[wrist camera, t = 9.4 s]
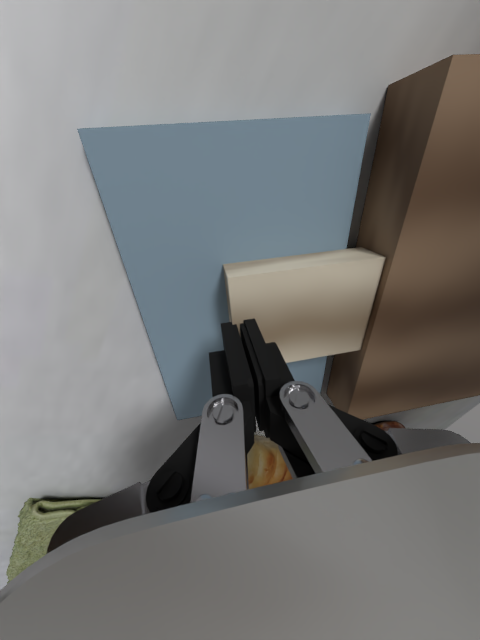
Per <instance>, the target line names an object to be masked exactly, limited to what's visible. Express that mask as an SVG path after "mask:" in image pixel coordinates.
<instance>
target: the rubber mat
mask: <svg viewBox="0 0 480 640" xmlns="http://www.w3.org/2000/svg"><path fill="white" fill-rule="evenodd" d="M370 115H371V113H370V114H351V115H332V116H313V117H294V118H274V119H255V120H236V121H217V122H198V123H178V124H159V125H140V126H121V127H102V128H82V129H77V130H78V133H79V135H80V138H81V141H82V144H83V147H84V150H85V153H86V156H87V159H88V162H89V164H90V167H91V170H92V173H93V176H94V179H95V182H96V185H97V188H98V191H99V194H100V196H101V199H102V202H103V205H104V208H105V211H106V214H107V217H108V220H109V223H110V226H111V228H112V231H113V234H114V237H115V240H116V243H117V246H118V249H119V252H120V255H121V257H122V260H123V263H124V266H125V269H126V272H127V275H128V278H129V281H130V284H131V287H132V289H133V292H134V295H135V298H136V301H137V304H138V307H139V310H140V313H141V316H142V318H143V321H144V324H145V327H146V330H147V333H148V336H149V339H150V342H151V345H152V348H153V350H154V353H155V356H156V359H157V362H158V365H159V368H160V371H161V374H162V377H163V379H164V382H165V385H166V388H167V391H168V394H169V397H170V400H171V403H172V406H173V409H174V411H175V414H176V417H177V420H182V419H187V418H192V417H197V416H202V411H203V408H204V406H205V404H206V403H207V401H209V400H210V399H211V398H212V385H211V374H210V362H209V352H215V351H221V350H224V346H223V339H222V331H221V323H227V322H229V313H228V305H227V296H226V287H225V278H224V269H223V264H229V263H237V262H245V261H253V260H261V259H269V258H277V257H285V256H294V255H302V254H310V253H318V252H326V251H334V250H342V249H346V248H347V243H348V237H349V232H350V226H351V220H352V215H353V209H354V204H355V198H356V193H357V187H358V181H359V176H360V170H361V165H362V159H363V154H364V148H365V143H366V137H367V131H368V126H369V120H370ZM326 359H327V356H323V357H317V358H312V359H306V360H300V361H295V362H289V363H286V364H287V366H288V368H289V370H290V372H291V374H292V376H293V378H294V380H295V381H302V382H305V383H308V384H310V385H311V386H313V387H314V388H315V389H316V390H317V391H318V393H321V387H322V382H323V376H324V371H325V365H326Z"/></svg>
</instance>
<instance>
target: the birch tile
mask: <svg viewBox="0 0 480 640" xmlns="http://www.w3.org/2000/svg"><path fill="white" fill-rule="evenodd" d="M385 258H386V257H384V256H382V255H379V254H377V253H374V252H372V251H370V250H367V249H365V248H362V247H358V248H350V249H342V250H334V251H326V252H318V253H310V254H302V255H294V256H285V257H277V258H269V259H261V260H253V261H245V262H237V263H229V264H223V269H224V278H225V287H226V296H227V305H228V313H229V322H232V325H234V324H237V328H238V331H239V334H240V323H243V320H247V319H255V320H256V322H257V324H258V327H259V329H260V331H261V334H262V336H263V338H264V341H265V343H271V342H275V343H276V344H277V346H278V348H279V350H280V352H281V354H282V356H283V358H284V360H285V362H286V363H289V362H295V361H300V360H306V359H312V358H317V357H323V356H329V355H334V354H340V353H346V352H352V351H357V350H361V347H362V343H363V339H364V336H365V332H366V328H367V325H368V321H369V317H370V313H371V310H372V306H373V302H374V299H375V295H376V291H377V288H378V284H379V280H380V277H381V273H382V269H383V266H384V262H385ZM240 338H241V336H240Z"/></svg>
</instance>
